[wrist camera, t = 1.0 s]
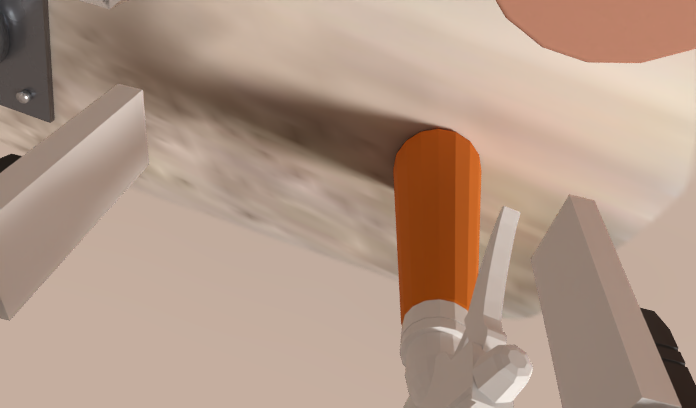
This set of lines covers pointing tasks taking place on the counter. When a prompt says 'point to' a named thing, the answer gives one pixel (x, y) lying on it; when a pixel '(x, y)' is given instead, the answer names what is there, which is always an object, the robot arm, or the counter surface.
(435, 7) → the counter surface
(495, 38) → the counter surface
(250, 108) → the counter surface
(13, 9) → the hub
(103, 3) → the octagonal ball socket
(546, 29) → the coffee jar
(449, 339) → the spray bottle
